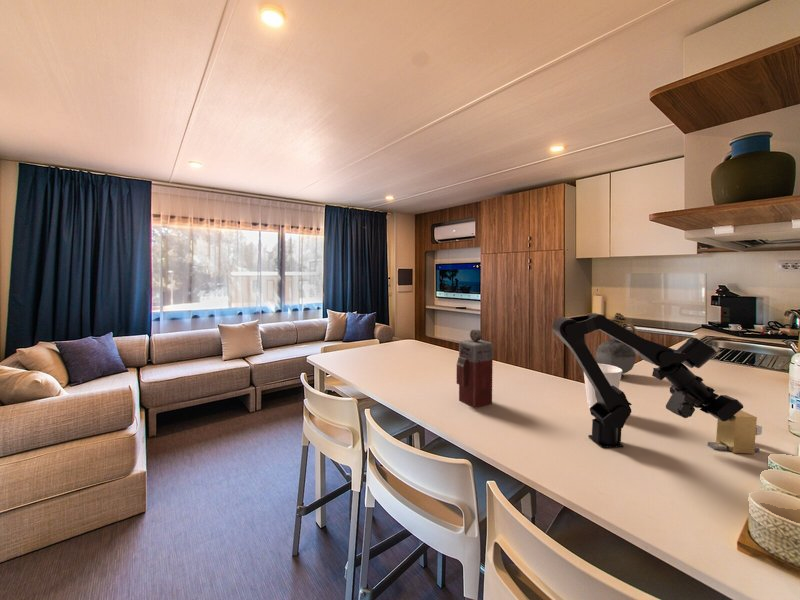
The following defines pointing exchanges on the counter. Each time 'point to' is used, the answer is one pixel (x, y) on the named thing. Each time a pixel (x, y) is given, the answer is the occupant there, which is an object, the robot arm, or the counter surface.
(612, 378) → the cup
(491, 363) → the dark red tall piece
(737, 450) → the tan rectangular block
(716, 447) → the rig
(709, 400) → the robot arm
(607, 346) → the pitcher
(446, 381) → the counter surface
